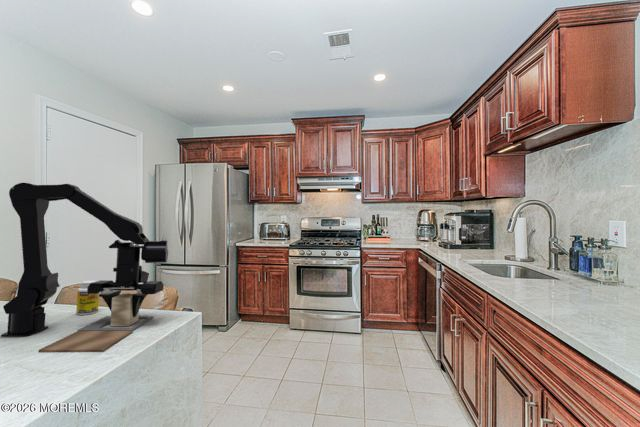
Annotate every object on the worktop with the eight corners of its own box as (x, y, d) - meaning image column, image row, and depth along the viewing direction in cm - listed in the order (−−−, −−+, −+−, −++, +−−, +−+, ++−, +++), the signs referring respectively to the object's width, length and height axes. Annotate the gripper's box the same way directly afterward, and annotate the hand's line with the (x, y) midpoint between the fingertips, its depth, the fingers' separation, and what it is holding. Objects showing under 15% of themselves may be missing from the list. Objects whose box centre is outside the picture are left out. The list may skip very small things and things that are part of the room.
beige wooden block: (110, 326, 83) (112, 297, 83) (121, 320, 88) (122, 293, 88) (128, 326, 83) (130, 297, 83) (138, 320, 88) (139, 293, 88)
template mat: (77, 332, 78) (77, 330, 78) (106, 318, 90) (106, 316, 90) (131, 332, 79) (132, 330, 79) (153, 318, 91) (153, 316, 91)
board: (38, 352, 66) (38, 350, 66) (78, 333, 78) (78, 330, 78) (103, 352, 67) (103, 349, 67) (132, 333, 79) (132, 330, 79)
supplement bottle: (74, 316, 90) (76, 283, 91) (77, 312, 95) (79, 280, 96) (97, 314, 94) (99, 282, 94) (98, 309, 98) (100, 279, 99)
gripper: (172, 260, 95) (169, 309, 94) (112, 259, 93) (109, 308, 93) (155, 265, 84) (153, 320, 83) (87, 264, 82) (83, 320, 82)
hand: (125, 316), depth 85 cm, fingers closed on beige wooden block, 5 cm apart
